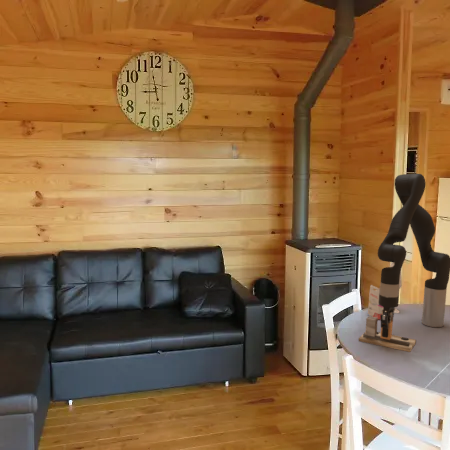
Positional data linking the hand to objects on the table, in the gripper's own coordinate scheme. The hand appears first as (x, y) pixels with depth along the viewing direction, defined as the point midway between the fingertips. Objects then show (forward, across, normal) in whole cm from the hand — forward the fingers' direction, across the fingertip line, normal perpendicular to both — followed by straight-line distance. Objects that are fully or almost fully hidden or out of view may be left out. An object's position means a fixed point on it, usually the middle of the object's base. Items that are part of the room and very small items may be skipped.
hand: (386, 335), depth 195 cm
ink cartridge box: (+4, -34, -12) cm, 36 cm away
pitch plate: (+4, -3, 0) cm, 5 cm away
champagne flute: (+4, -48, -8) cm, 49 cm away
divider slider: (+2, -3, 0) cm, 3 cm away
